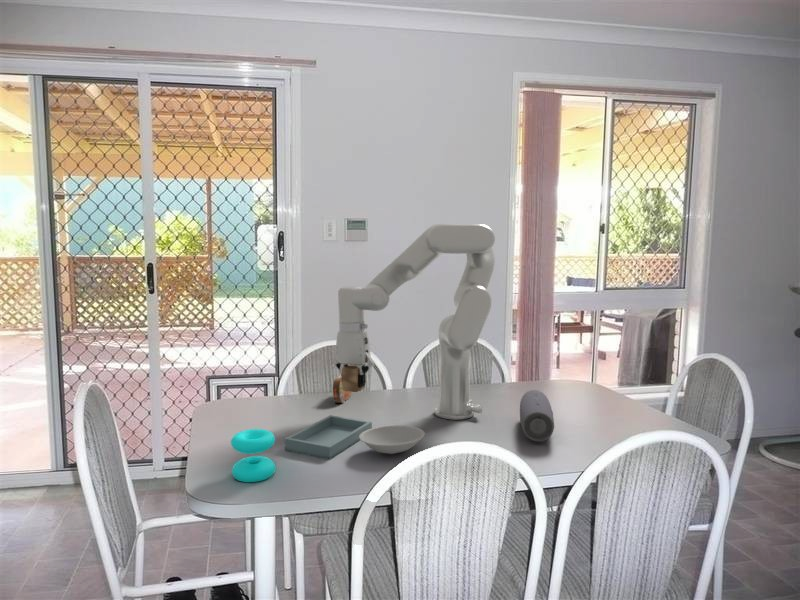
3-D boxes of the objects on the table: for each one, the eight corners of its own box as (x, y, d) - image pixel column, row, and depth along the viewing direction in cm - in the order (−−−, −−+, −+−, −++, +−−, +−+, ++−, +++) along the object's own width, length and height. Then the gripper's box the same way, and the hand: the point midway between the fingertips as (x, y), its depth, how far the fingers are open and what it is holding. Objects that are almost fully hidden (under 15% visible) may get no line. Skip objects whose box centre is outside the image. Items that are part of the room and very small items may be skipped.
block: (364, 387, 180) (364, 365, 179) (356, 392, 176) (356, 369, 175) (351, 386, 182) (350, 364, 181) (342, 390, 178) (341, 368, 177)
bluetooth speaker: (555, 447, 156) (556, 411, 155) (520, 444, 158) (521, 409, 157) (549, 420, 178) (550, 388, 177) (518, 418, 180) (519, 387, 179)
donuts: (282, 430, 139) (258, 444, 130) (283, 470, 140) (259, 487, 131) (247, 425, 143) (221, 438, 133) (248, 464, 144) (223, 480, 135)
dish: (372, 469, 141) (372, 449, 141) (350, 449, 154) (350, 431, 153) (435, 456, 149) (435, 438, 149) (409, 439, 162) (409, 421, 161)
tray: (371, 432, 167) (371, 422, 166) (330, 459, 147) (330, 447, 147) (330, 425, 173) (330, 415, 172) (285, 450, 153) (284, 438, 153)
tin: (340, 406, 192) (340, 381, 191) (331, 405, 193) (331, 380, 192) (353, 394, 207) (353, 370, 206) (344, 393, 207) (344, 370, 206)
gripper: (382, 326, 176) (383, 385, 178) (334, 323, 184) (336, 380, 186) (370, 330, 170) (372, 391, 172) (321, 327, 177) (323, 386, 179)
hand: (353, 385), depth 179 cm, fingers closed on block, 4 cm apart
